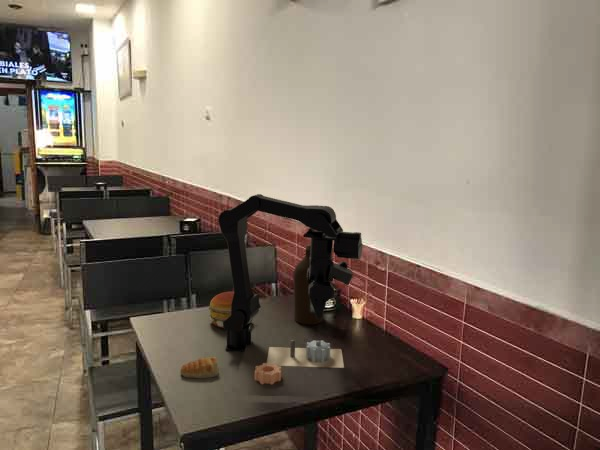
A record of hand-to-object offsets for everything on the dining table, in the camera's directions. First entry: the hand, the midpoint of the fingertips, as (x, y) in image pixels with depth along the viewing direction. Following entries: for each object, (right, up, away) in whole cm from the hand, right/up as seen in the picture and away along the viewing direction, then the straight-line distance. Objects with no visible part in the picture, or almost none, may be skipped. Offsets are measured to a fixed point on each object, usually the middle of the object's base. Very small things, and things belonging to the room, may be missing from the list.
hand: (318, 311), depth 132 cm
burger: (-27, -8, +26) cm, 38 cm away
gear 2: (0, -12, +1) cm, 12 cm away
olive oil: (-2, -8, +30) cm, 32 cm away
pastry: (-30, -15, -7) cm, 34 cm away
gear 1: (-13, -15, -11) cm, 23 cm away
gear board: (-4, -13, +1) cm, 14 cm away
